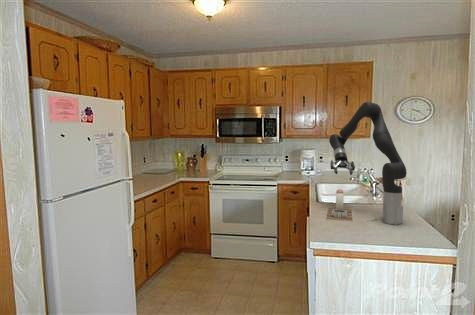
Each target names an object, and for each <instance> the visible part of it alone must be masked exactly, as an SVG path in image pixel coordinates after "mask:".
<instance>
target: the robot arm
mask: <svg viewBox="0 0 475 315" xmlns="http://www.w3.org/2000/svg"><path fill="white" fill-rule="evenodd" d="M363 118H368V119H370V120H371V121H372V124H373V129H372V130H373V132H372V140H373V141H374V145H375V147H376V148H377V149H378V150H379V151H380V152H381V153H382V154H383V155H384V156H385V157H387V159H388V160H389V162H386V163H384V164H383V165H382V166H383V167H382V171H381V172H382V173H381V174H382V176H381V177H382V179H381V181H382V184H381V185H382V188H383V191H382V192H383V196H382V222H383V224H388V225H394V226H397V225H402V224H403V221H404V220H403V218H404V217H403V216H404V206H403V205H402V200H403V195H402V194H403V188H402V187H401V186H400V185H397V184H395V183H396V182H395V180H403V179H405V178H406V177H407V173H408V172H407V167H406V165H405V163H404V161H403V160H402V157H401V156H400V154H399V152H398V150H397V147H396V146H395V144H394V142H393V139H392V136H391V134H390V131H389V130H388V126H387V124H386V122H385V118H384V115H383V112H382V109H381V106H380V105H379V104H377V103H374V102H371V101H364V102H363V103H362V104H360V106H359V107H358V109H357V110H356V112H355V113H354V115H353V116H352V118H350V120H349V121H348V122H347V123H346V124H345V125H344V126H343V127H342V128H341V130H340V131H339V135H338V134H335V133H334V134H332V135H330V136H329V139H328V140H329V144H330V146H331V148H332V149H333V157H334V161H333V160H332V159H331V160H330V163H329V164H330V169H331V170H333V171H334V174H335V175H338V169H346V170H348V171H349V175H350V176H352V175H353V174H354V171H355V169H356V165H355V163H354V161H351V162H350V161H348V160H349V159H348V156H347V152H346V148H345V145H346V143H347V141H348V139H350V137H351V136H352V135H353V134H354V133H355V132H356V131H357V128H358V125H359V123H360V122H361V120H363Z"/></svg>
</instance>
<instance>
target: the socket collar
mask: <svg viewBox="0 0 475 315" xmlns="http://www.w3.org/2000/svg"><path fill="white" fill-rule="evenodd" d="M333 209H334V210H332V216H333V217H335V218H346V217H347V211H346V210H341V209H336V208H333Z"/></svg>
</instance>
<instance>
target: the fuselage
mask: <svg viewBox="0 0 475 315" xmlns="http://www.w3.org/2000/svg"><path fill="white" fill-rule="evenodd" d="M344 194H345V192H344V190H343V189H340V188H339V189H336V192H335V209H341V210H343V209H344V205H345V204H344V203H345V202H344V197H345V196H344Z"/></svg>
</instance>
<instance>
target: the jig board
mask: <svg viewBox="0 0 475 315" xmlns="http://www.w3.org/2000/svg"><path fill="white" fill-rule="evenodd" d="M334 209H335V208H330V207H329V208H327V213H326V218H325V220H334V221H345V222H346V221H347V222H353V214H352V209H344V208H343V210H346V211H347V217H346V218H335V217H333V216H332V210H334Z"/></svg>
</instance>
